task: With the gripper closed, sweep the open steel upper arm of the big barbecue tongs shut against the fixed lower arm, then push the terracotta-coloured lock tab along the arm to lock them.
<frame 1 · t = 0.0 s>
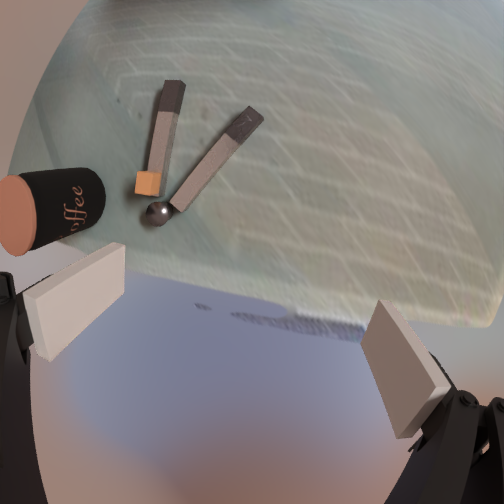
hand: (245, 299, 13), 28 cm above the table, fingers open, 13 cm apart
tongs upper: (215, 159, 37), point 1 cm above the table, hinge at 30.0°
lock tab: (148, 182, 36), point 4 cm above the table, slide at 0.0 cm
coffee jar: (86, 197, 42), on the table
tongs lower: (164, 211, 41), on the table
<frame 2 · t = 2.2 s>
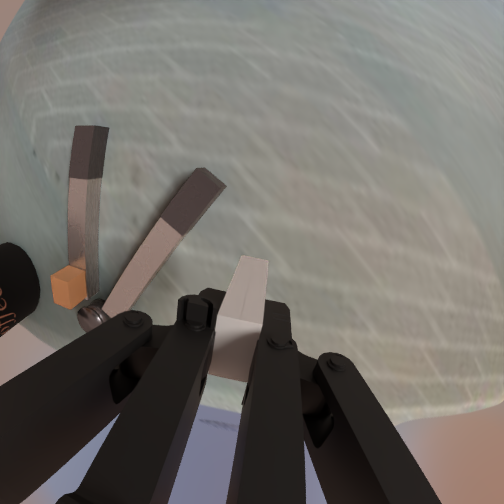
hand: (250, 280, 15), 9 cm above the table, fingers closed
tongs upper: (153, 254, 24), point 1 cm above the table, hinge at 30.0°
lock tab: (69, 286, 23), point 4 cm above the table, slide at 0.0 cm
coffee jar: (21, 275, 29), on the table
tongs lower: (102, 310, 28), on the table
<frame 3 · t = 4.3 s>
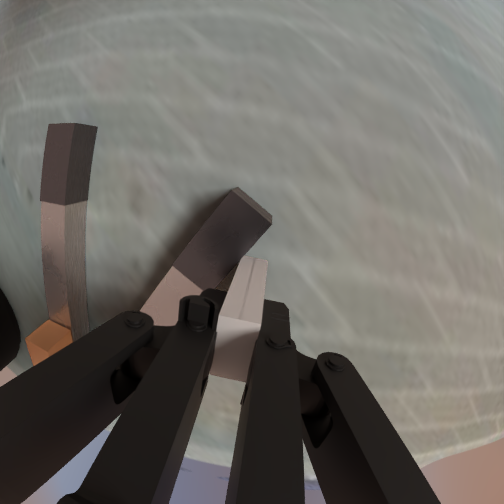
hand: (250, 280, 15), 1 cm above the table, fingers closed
tongs upper: (162, 313, 16), point 1 cm above the table, hinge at 28.5°, touching gripper
lock tab: (51, 350, 15), point 4 cm above the table, slide at 0.0 cm
tongs lower: (98, 369, 20), on the table
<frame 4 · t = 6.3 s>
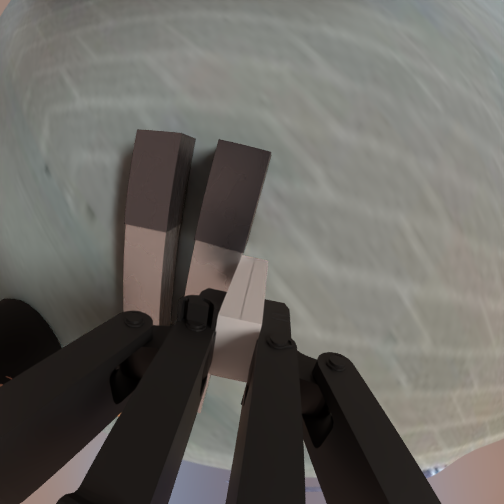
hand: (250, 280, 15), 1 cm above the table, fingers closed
tongs upper: (208, 301, 16), point 1 cm above the table, hinge at 3.9°, touching gripper
lock tab: (133, 391, 15), point 4 cm above the table, slide at 0.0 cm
coffee jar: (35, 340, 21), on the table
tongs lower: (171, 400, 20), on the table
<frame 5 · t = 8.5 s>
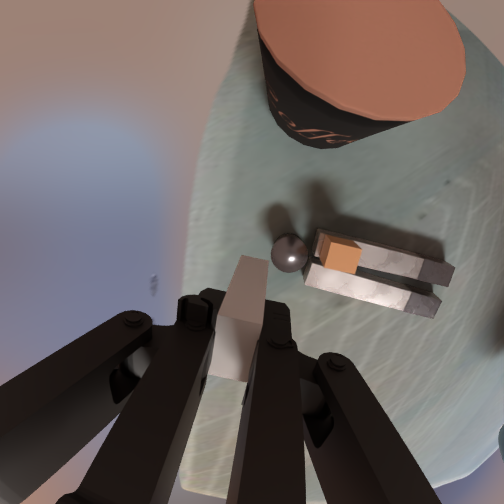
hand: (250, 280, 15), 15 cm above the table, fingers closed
tongs upper: (378, 290, 29), point 1 cm above the table, hinge at 3.9°
lock tab: (339, 253, 25), point 4 cm above the table, slide at 0.0 cm
coffee jar: (319, 101, 25), on the table
tongs lower: (288, 247, 30), on the table
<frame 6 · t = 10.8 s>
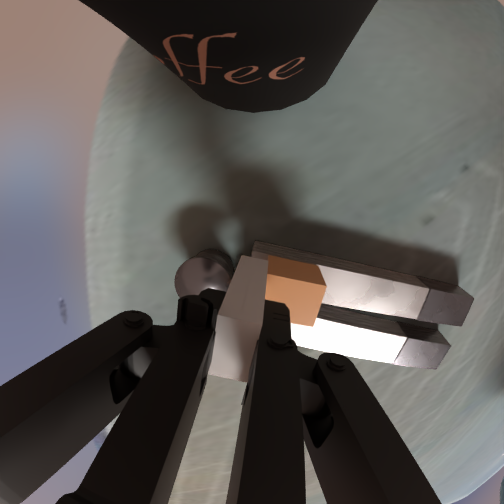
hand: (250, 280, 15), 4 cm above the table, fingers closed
tongs upper: (355, 334, 19), point 1 cm above the table, hinge at 3.9°
lock tab: (290, 289, 15), point 4 cm above the table, slide at 0.5 cm, touching gripper
coffee jar: (257, 47, 15), on the table
tongs lower: (212, 269, 19), on the table
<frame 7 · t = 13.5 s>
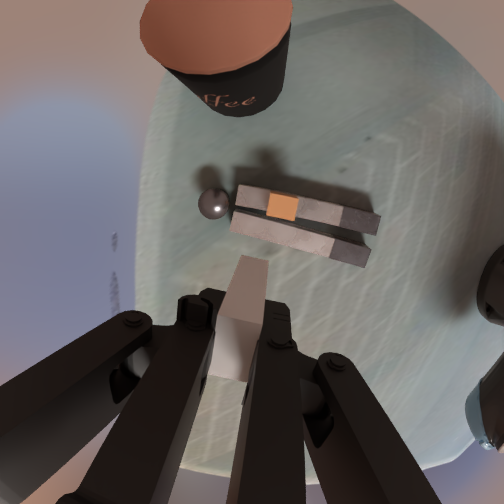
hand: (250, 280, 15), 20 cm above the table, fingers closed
tongs upper: (302, 237, 34), point 1 cm above the table, hinge at 3.9°
lock tab: (282, 205, 30), point 4 cm above the table, slide at 3.2 cm
coffee jar: (241, 80, 30), on the table
tongs lower: (217, 201, 34), on the table
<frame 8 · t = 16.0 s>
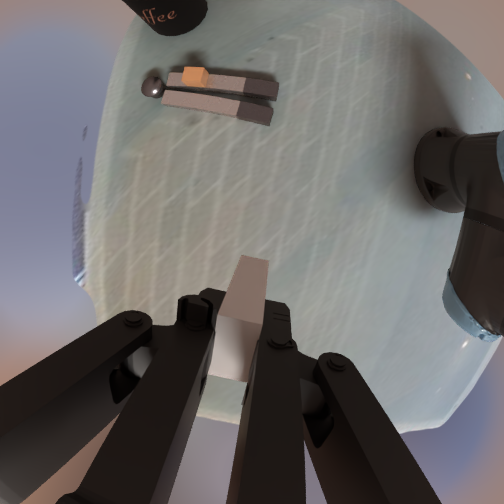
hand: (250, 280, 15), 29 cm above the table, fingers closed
tongs upper: (215, 105, 38), point 1 cm above the table, hinge at 3.9°
lock tab: (195, 77, 34), point 4 cm above the table, slide at 3.2 cm
coffee jar: (180, 16, 34), on the table
tongs lower: (157, 90, 39), on the table
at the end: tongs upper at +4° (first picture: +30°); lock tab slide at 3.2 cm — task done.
